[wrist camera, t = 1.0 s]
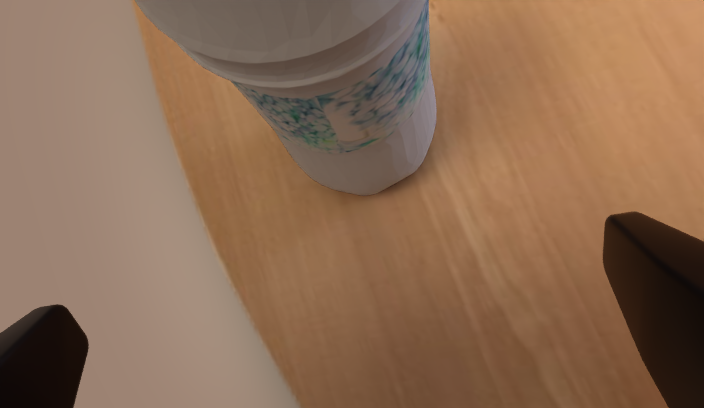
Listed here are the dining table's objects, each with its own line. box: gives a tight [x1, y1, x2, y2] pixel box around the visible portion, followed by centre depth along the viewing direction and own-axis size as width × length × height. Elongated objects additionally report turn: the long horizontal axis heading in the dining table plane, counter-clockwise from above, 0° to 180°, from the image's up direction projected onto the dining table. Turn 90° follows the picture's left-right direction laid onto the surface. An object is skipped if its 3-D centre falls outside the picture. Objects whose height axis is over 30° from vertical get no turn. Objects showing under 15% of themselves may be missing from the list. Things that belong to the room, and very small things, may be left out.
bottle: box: [135, 0, 436, 196], centre depth 14 cm, size 7×7×20 cm
